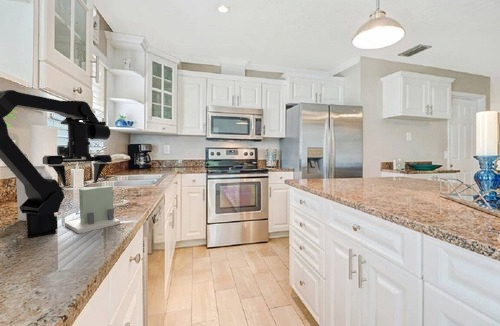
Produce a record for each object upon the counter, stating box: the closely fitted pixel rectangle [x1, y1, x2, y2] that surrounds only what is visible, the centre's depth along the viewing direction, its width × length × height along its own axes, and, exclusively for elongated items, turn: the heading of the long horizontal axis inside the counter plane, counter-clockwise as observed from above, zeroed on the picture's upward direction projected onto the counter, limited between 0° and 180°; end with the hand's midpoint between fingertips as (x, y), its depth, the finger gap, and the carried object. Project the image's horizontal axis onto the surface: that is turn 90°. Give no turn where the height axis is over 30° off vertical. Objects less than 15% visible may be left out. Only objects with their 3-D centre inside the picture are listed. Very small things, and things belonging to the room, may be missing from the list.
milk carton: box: [15, 165, 53, 222], centre depth 88 cm, size 7×7×19 cm
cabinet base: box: [64, 208, 121, 234], centre depth 81 cm, size 12×12×5 cm
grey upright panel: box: [78, 185, 115, 224], centre depth 82 cm, size 9×3×11 cm, turn 143°
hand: (80, 184), depth 84 cm, fingers open, 9 cm apart
